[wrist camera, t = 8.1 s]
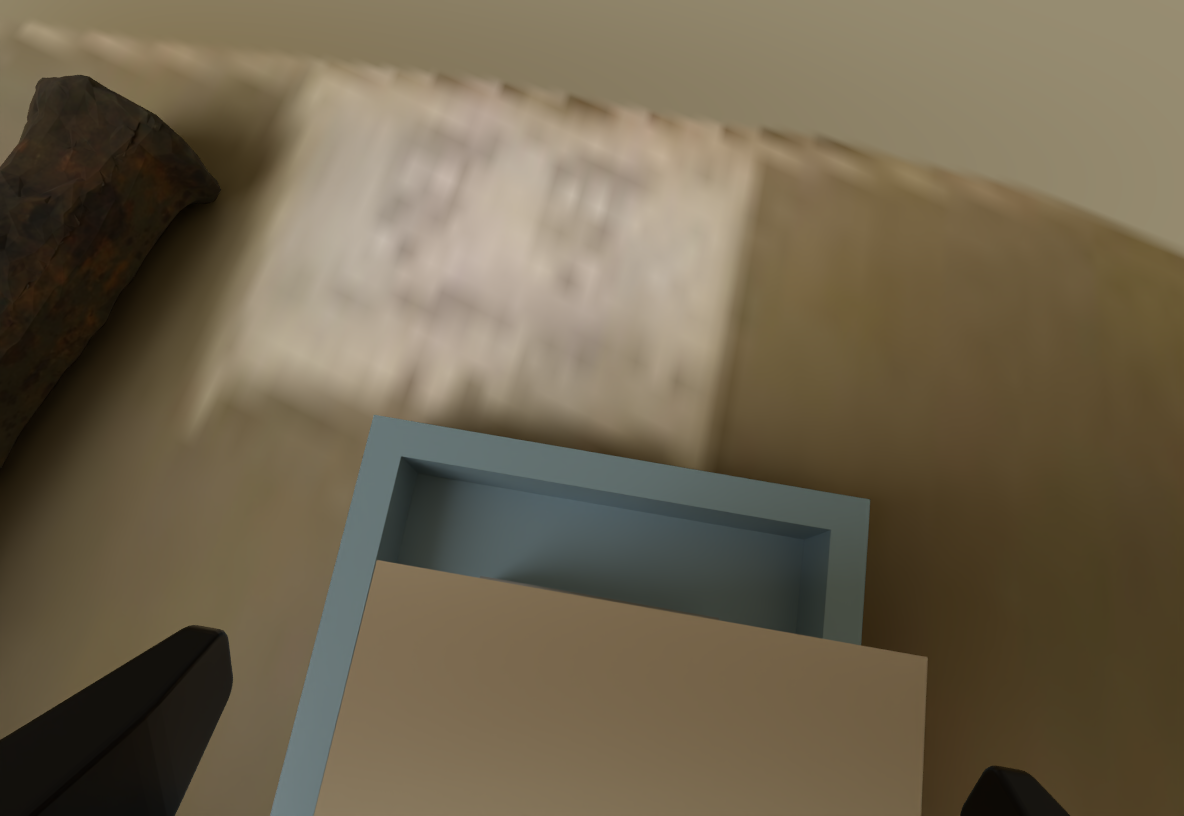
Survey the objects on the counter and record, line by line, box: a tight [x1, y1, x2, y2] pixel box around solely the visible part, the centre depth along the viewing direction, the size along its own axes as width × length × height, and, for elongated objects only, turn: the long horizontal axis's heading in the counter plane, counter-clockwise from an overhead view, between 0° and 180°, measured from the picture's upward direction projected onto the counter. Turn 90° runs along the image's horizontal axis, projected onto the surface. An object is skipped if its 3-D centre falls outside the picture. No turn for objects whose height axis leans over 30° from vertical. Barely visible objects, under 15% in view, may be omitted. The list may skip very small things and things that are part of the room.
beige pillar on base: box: [314, 560, 928, 816], centre depth 11 cm, size 5×5×12 cm
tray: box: [270, 415, 870, 816], centre depth 16 cm, size 11×11×2 cm
